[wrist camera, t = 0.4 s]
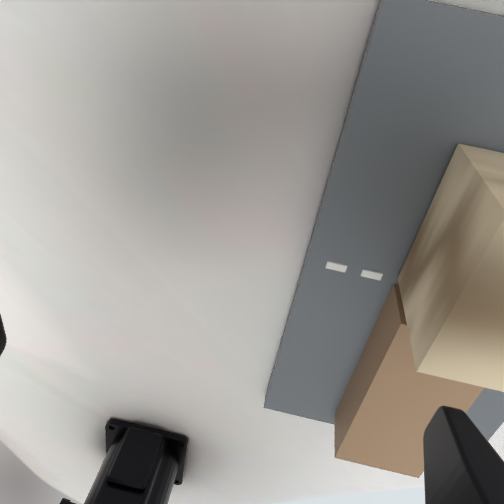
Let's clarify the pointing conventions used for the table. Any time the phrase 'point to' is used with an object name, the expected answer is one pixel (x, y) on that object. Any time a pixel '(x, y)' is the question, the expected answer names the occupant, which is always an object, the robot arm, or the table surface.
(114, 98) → the table surface
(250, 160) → the table surface
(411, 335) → the stub
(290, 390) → the board
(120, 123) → the table surface
